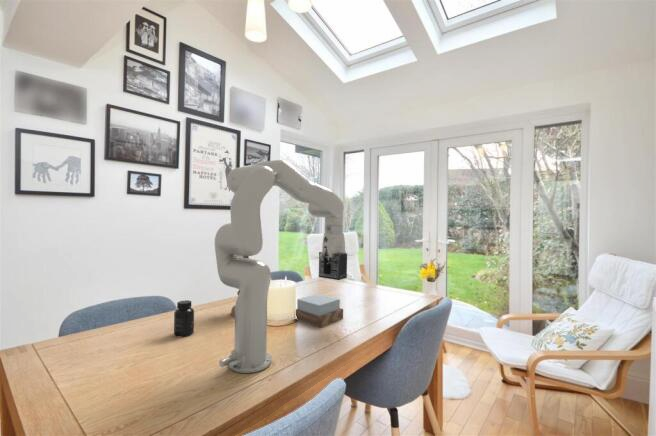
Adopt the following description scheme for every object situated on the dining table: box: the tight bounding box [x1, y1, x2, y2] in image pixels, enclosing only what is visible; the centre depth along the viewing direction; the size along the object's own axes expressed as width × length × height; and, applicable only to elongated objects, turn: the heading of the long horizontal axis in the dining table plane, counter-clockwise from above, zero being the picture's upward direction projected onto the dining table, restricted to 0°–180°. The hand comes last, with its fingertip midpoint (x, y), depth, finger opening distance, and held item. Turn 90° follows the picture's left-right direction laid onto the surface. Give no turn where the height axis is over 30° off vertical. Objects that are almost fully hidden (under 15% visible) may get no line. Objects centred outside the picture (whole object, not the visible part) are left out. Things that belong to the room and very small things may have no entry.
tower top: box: [296, 293, 341, 317], centre depth 136 cm, size 13×13×4 cm
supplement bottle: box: [173, 300, 195, 338], centre depth 116 cm, size 7×7×12 cm
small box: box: [318, 251, 348, 281], centre depth 129 cm, size 11×6×10 cm, turn 56°
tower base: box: [295, 307, 344, 328], centre depth 136 cm, size 15×15×4 cm
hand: (332, 272), depth 129 cm, fingers closed on small box, 6 cm apart
